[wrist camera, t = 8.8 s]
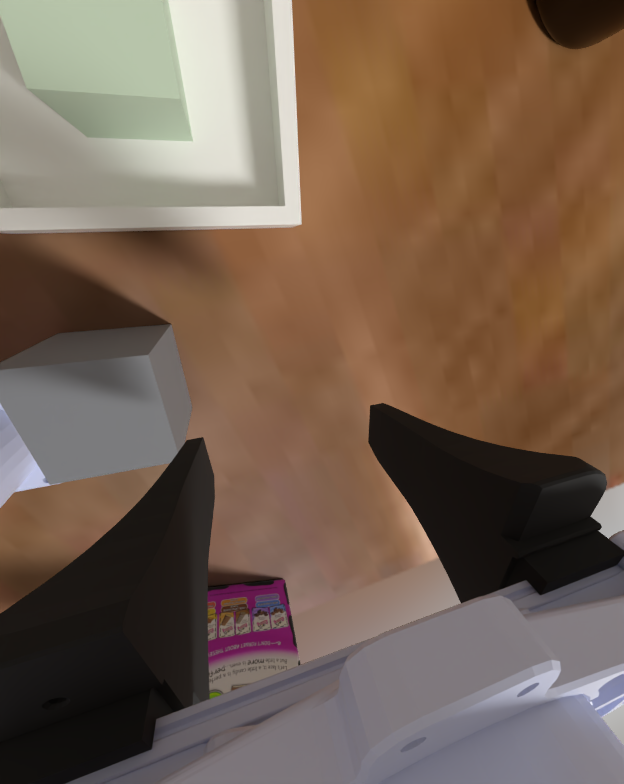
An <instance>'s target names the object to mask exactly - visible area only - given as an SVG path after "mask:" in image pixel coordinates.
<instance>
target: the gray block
mask: <svg viewBox="0 0 624 784" xmlns="http://www.w3.org/2000/svg"><path fill="white" fill-rule="evenodd" d="M0 404H1V405H2V407H3V409H4V410H5V412H6V414H7V415H8V417H9V419H10V420H11V422H12V424H13V425H14V427H15V428H16V430H17V432H18V433H19V435H20V437H21V438H22V440H23V442H24V443H25V445H26V447H27V448H28V450H29V451H30V453H31V455H32V456H33V458H34V460H35V461H36V463H37V465H38V466H39V468H40V470H41V471H42V473H43V474H44V476H45V478H46V479H47V481H48V483H49V484H50V485H52V484H57V483H63V482H68V481H74V480H79V479H85V478H90V477H96V476H101V475H107V474H112V473H118V472H123V471H129V470H134V469H140V468H145V467H151V466H156V465H162V464H167V463H171V462H172V460H173V459H174V457H175V456H176V455H177V453H178V452H179V450H180V449H181V448H182V446H183V445H184V443H185V439H186V434H187V430H188V425H189V420H190V416H191V411H192V404H191V400H190V396H189V393H188V389H187V385H186V381H185V377H184V373H183V369H182V365H181V361H180V357H179V353H178V349H177V345H176V341H175V337H174V333H173V329H172V326H171V324H166V325H154V326H142V327H129V328H117V329H105V330H93V331H80V332H68V333H58V334H56V335H54V336H52V337H50V338H48V339H46V340H44V341H42V342H40V343H38V344H36V345H34V346H32V347H30V348H28V349H26V350H24V351H22V352H20V353H18V354H16V355H14V356H12V357H10V358H8V359H6V360H4V361H2V362H0Z"/></svg>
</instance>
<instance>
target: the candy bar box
mask: <svg viewBox="0 0 624 784" xmlns="http://www.w3.org/2000/svg"><path fill="white" fill-rule="evenodd" d="M208 662H209V692H210V699H211V698H214V697H216V696H219V695H222V694H224V693H227V692H230V691H232V690H235V689H238V688H240V687H243V686H246V685H248V684H251V683H254V682H256V681H259V680H262V679H264V678H267V677H269V676H272V675H275V674H277V673H280V672H283V671H285V670H288V669H291V668H293V667H296V666H299V665H300V660H299V654H298V649H297V644H296V638H295V632H294V627H293V621H292V616H291V610H290V605H289V599H288V593H287V588H286V583H285V580H283V579H280V580H270V581H261V582H252V583H243V584H234V585H226V586H217V587H208Z"/></svg>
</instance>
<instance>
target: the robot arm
mask: <svg viewBox="0 0 624 784" xmlns="http://www.w3.org/2000/svg"><path fill="white" fill-rule="evenodd" d="M368 442H369V444H370V446H371V448H372V450H373V452H374V454H375V456H376V458H377V460H378V461H379V463H380V464H381V466H382V467H383V468H384V470H385V471H386V473H387V474H388V475H389V477H390V478H391V480H392V481H393V482H394V484H395V485H396V486H397V488H398V489H399V491H400V492H401V493H402V495H403V496H404V497H405V499H406V500H407V502H408V503H409V505H410V506H411V508H412V509H413V511H414V513H415V515H416V516H417V518H418V520H419V522H420V523H421V525H422V527H423V529H424V530H425V532H426V534H427V536H428V538H429V540H430V541H431V543H432V545H433V547H434V549H435V551H436V553H437V555H438V557H439V559H440V561H441V562H442V564H443V566H444V568H445V570H446V572H447V574H448V576H449V578H450V581H451V583H452V585H453V587H454V589H455V591H456V593H457V595H458V598H459V600H460V602H461V604H458V605H456V606H453V607H450V608H448V609H445V610H442V611H440V612H437V613H434V614H432V615H429V616H426V617H424V618H421V619H418V620H416V621H413V622H410V623H408V624H405V625H402V626H400V627H397V628H395V629H392V630H389V631H386V632H384V633H382V634H380V635H378V636H376V637H373V638H371V639H368V640H365V641H363V642H360V643H357V644H355V645H352V646H349V647H347V648H344V649H341V650H339V651H336V652H333V653H331V654H328V655H326V656H323V657H320V658H317V659H315V660H312V661H309V662H307V663H304V664H301V665H299V666H296V667H293V668H291V669H288V670H285V671H283V672H280V673H277V674H275V675H272V676H269V677H267V678H264V679H262V680H259V681H256V682H254V683H251V684H248V685H246V686H243V687H240V688H238V689H235V690H232V691H230V692H227V693H224V694H222V695H219V696H216V697H214V698H211V699H210V692H209V662H208V557H209V546H210V537H211V528H212V519H213V510H214V500H215V489H214V474H213V470H212V467H211V463H210V460H209V456H208V453H207V449H206V446H205V442H204V439H203V437H202V438H196V439H191V440H187V441H186V442H185V444H184V445H183V446H182V448H181V449H180V450H179V452H178V453H177V455H176V456H175V457H174V459H173V460H172V462H171V463H170V464H169V466H168V467H167V468H166V470H165V471H164V472H163V474H162V475H161V476H160V477H159V479H158V480H157V481H156V482H155V484H154V485H153V486H152V487H151V488H150V490H149V491H148V492H147V493H146V494H145V495H144V497H143V498H142V499H141V500H140V501H139V502H138V503H137V504H136V505H135V506H134V507H133V508H132V509H131V510H130V511H129V512H128V513H127V514H126V515H125V516H124V517H123V518H122V519H121V520H120V521H119V522H118V523H117V524H116V525H115V526H114V527H113V528H112V529H110V530H109V531H108V532H107V533H106V534H105V535H104V536H103V537H101V538H100V539H99V540H98V541H97V542H96V543H95V544H94V545H92V546H91V547H90V548H89V549H88V550H86V551H85V552H84V553H83V554H82V555H80V556H79V557H78V558H77V559H75V560H74V561H73V562H72V563H70V564H69V565H68V566H66V567H65V568H64V569H62V570H61V571H60V572H59V573H57V574H56V575H55V576H53V577H52V578H51V579H49V580H48V581H47V582H45V583H44V584H42V585H41V586H40V587H38V588H37V589H35V590H34V591H32V592H31V593H30V594H28V595H27V596H25V597H24V598H22V599H21V600H20V601H18V602H17V603H15V604H14V605H12V606H11V607H10V608H8V609H7V610H5V611H4V612H2V613H1V614H0V784H624V745H623V744H622V743H621V741H620V740H619V739H618V738H617V736H616V735H615V734H614V733H613V731H612V730H611V729H610V728H609V726H608V725H607V724H606V723H605V722H604V720H603V719H602V718H601V717H603V716H605V715H607V714H608V713H610V712H612V711H613V710H615V709H616V708H618V707H620V706H622V705H624V530H623V531H620V532H618V533H616V534H614V535H613V536H611V537H610V538H609V539H608V538H607V537H605V536H604V535H603V534H601V533H600V532H599V531H598V530H600V529H601V524H600V523H598V522H597V521H596V520H594V519H593V518H592V517H590V516H591V514H592V513H593V511H594V509H595V508H596V506H597V504H598V503H599V501H600V499H601V497H602V496H603V494H604V492H605V489H606V485H607V481H606V477H605V474H604V473H602V472H601V471H600V470H598V469H596V468H595V467H593V466H591V465H590V464H588V463H586V462H585V461H583V460H581V459H579V458H577V457H572V456H563V455H555V454H546V453H538V452H532V451H526V450H521V449H515V448H510V447H505V446H500V445H496V444H492V443H488V442H484V441H480V440H476V439H473V438H470V437H466V436H463V435H460V434H457V433H454V432H451V431H448V430H446V429H443V428H440V427H438V426H435V425H433V424H430V423H428V422H425V421H423V420H421V419H419V418H416V417H414V416H412V415H410V414H407V413H405V412H403V411H401V410H399V409H396V408H394V407H392V406H389V405H387V404H384V403H381V404H376V405H370V422H369V441H368ZM57 484H60V483H57ZM49 485H50V484H49V483H48V481H47V479H46V478H45V476H44V474H43V473H42V471H41V470H40V468H39V466H38V465H37V463H36V461H35V460H34V458H33V456H32V455H31V453H30V451H29V450H28V448H27V447H26V445H25V443H24V442H23V440H22V438H21V437H20V435H19V433H18V432H17V430H16V428H15V427H14V425H13V424H12V422H11V420H10V419H9V417H8V415H7V414H6V412H5V410H4V409H3V407H2V405H1V404H0V508H1V507H2V505H3V504H4V503H5V502H6V501H7V500H8V499H9V497H10V496H11V495H12V494H13V493H14V492H18V491H23V490H28V489H33V488H39V487H44V486H49ZM52 485H54V484H52Z"/></svg>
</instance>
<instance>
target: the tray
mask: <svg viewBox="0 0 624 784" xmlns="http://www.w3.org/2000/svg"><path fill="white" fill-rule="evenodd" d="M168 2H169V7H170V13H171V19H172V24H173V30H174V36H175V41H176V47H177V53H178V58H179V64H180V69H181V75H182V81H183V86H184V92H185V98H186V103H187V109H188V115H189V120H190V126H191V132H192V137H193V142H192V141H166V140H141V139H115V138H89V137H86V136H85V135H84V134H83V133H81V132H80V131H79V130H78V129H76V128H75V127H74V126H73V125H71V124H70V123H69V122H68V121H66V120H65V119H64V118H63V117H61V116H60V115H59V114H58V113H57V112H55V111H54V110H53V109H52V108H50V107H49V106H48V105H47V104H45V103H44V102H43V101H42V100H40V99H39V98H38V97H37V96H35V95H34V94H33V93H32V92H30V91H29V90H28V89H27V88H26V85H25V83H24V80H23V77H22V74H21V72H20V69H19V66H18V63H17V60H16V58H15V55H14V52H13V49H12V47H11V44H10V41H9V38H8V36H7V33H6V30H5V27H4V25H3V22H2V19H1V16H0V233H6V234H31V233H74V232H117V231H160V230H203V229H247V228H290V227H295V226H298V225H301V202H300V179H299V156H298V133H297V110H296V88H295V65H294V42H293V19H292V0H168Z"/></svg>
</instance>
